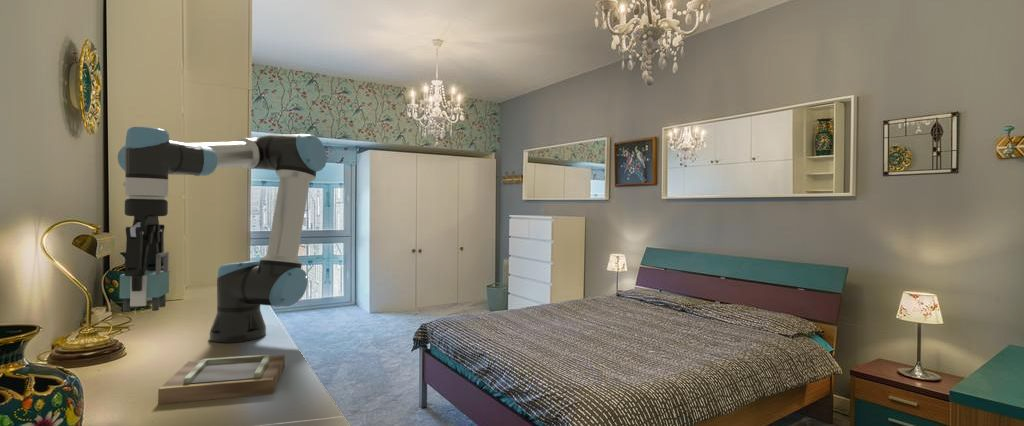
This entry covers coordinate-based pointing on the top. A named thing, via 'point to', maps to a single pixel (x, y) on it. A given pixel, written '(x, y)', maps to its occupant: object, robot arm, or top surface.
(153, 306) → the light blue chair
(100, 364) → the top surface
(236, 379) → the dock
